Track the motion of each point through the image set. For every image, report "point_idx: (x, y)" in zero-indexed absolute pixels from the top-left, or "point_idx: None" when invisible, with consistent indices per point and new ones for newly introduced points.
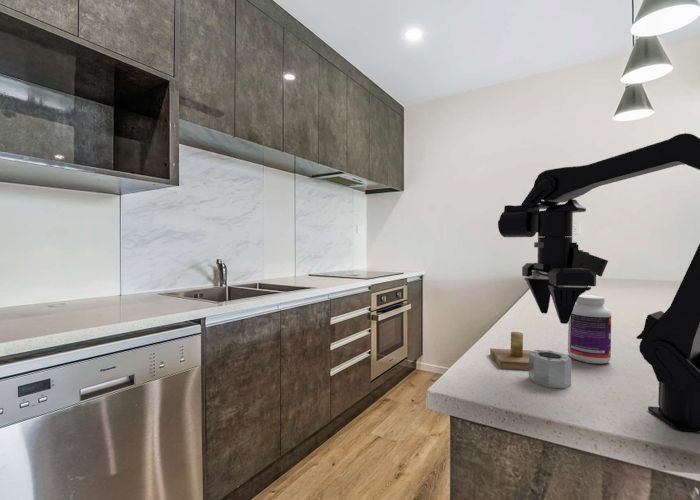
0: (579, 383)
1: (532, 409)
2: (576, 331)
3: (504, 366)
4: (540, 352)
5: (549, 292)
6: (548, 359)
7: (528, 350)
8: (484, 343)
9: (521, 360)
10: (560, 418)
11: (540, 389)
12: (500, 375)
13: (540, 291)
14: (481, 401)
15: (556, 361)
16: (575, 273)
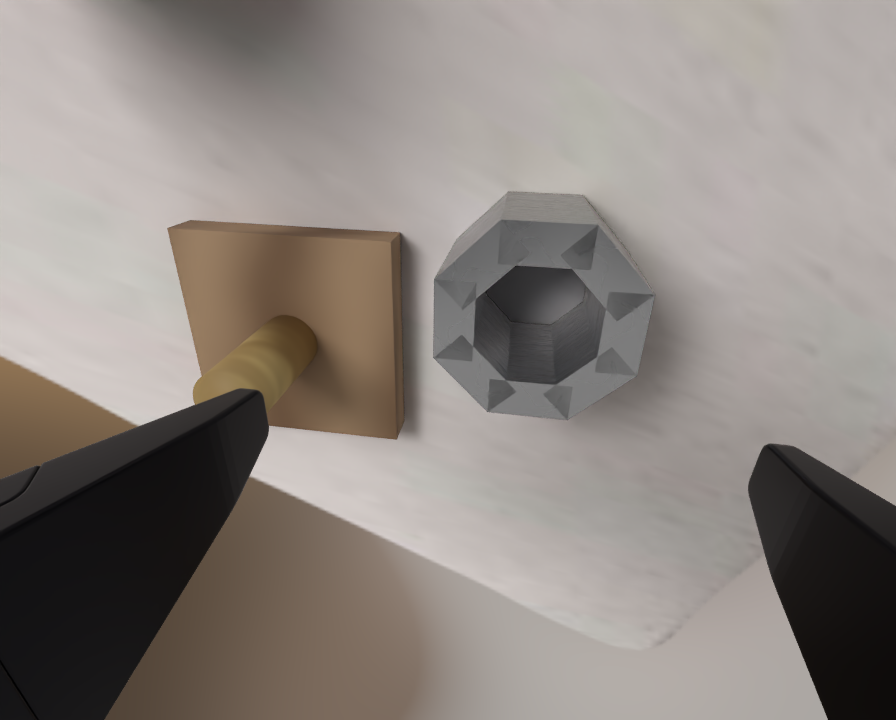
0: (554, 132)
1: None
2: None
3: (402, 412)
4: (480, 353)
5: (32, 539)
6: (615, 369)
7: (173, 243)
8: (55, 372)
9: (361, 345)
10: None
11: None
12: (486, 446)
13: (77, 654)
14: (726, 572)
15: (643, 337)
16: None
